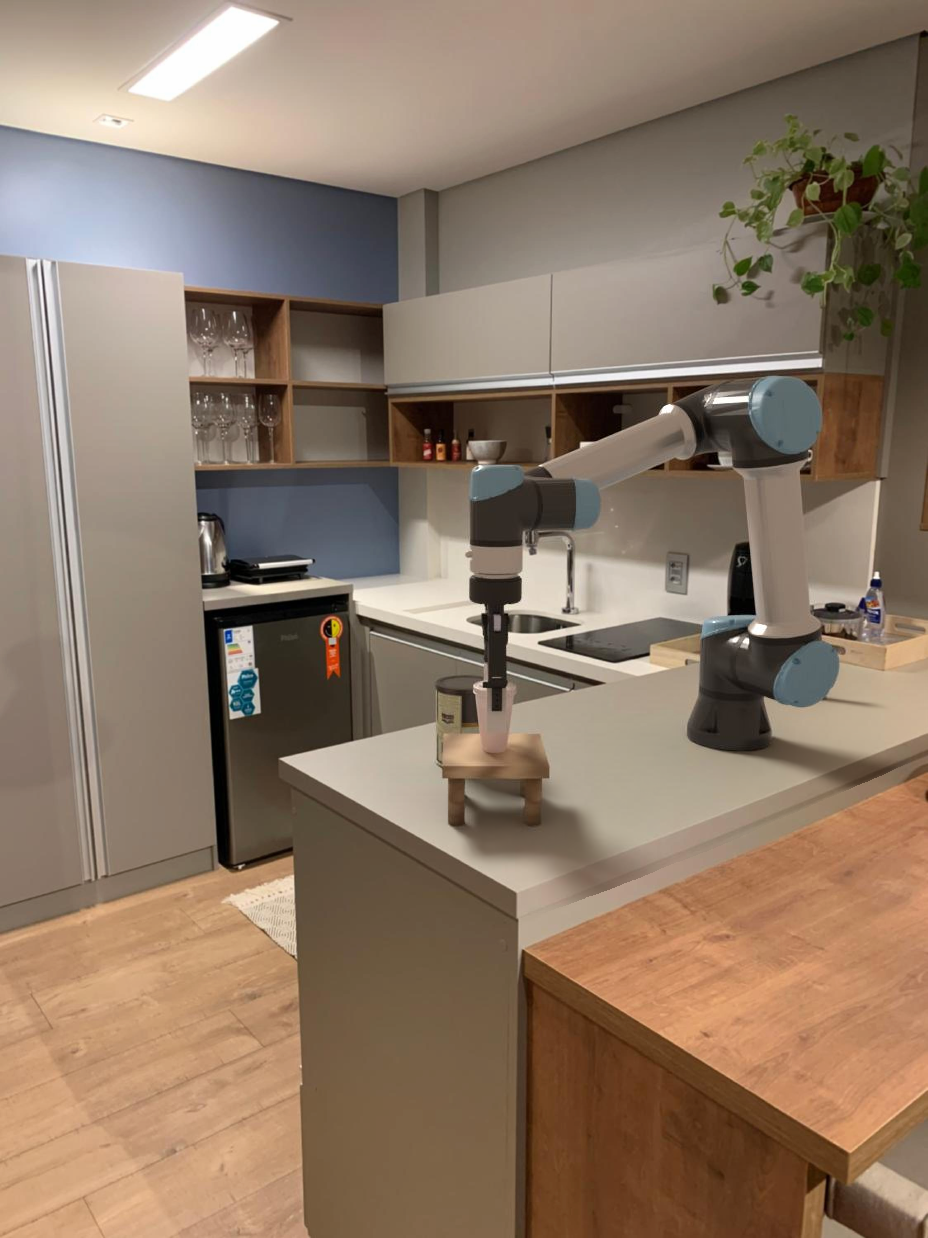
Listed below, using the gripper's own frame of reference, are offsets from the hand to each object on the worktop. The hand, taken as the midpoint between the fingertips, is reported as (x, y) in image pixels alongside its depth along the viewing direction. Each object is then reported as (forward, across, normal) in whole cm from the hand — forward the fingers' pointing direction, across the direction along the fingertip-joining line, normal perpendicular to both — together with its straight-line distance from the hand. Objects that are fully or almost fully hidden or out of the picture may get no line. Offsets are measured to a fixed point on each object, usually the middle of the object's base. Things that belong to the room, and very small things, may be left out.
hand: (494, 718), depth 137 cm
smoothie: (+5, 0, 0) cm, 5 cm away
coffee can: (+14, -21, -4) cm, 26 cm away
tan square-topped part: (+14, 0, 0) cm, 14 cm away
